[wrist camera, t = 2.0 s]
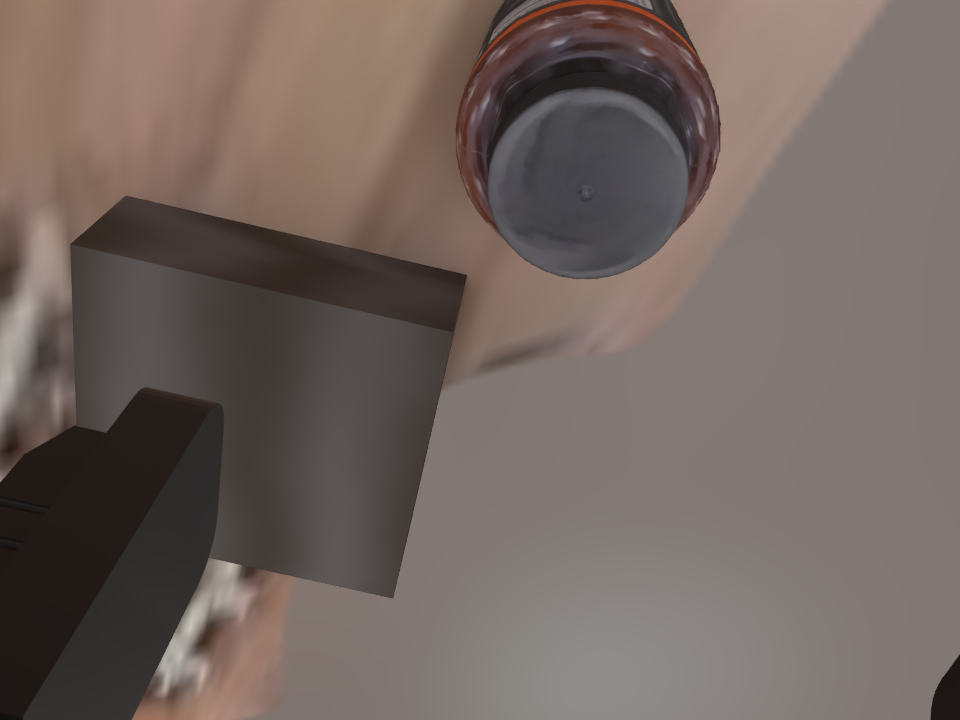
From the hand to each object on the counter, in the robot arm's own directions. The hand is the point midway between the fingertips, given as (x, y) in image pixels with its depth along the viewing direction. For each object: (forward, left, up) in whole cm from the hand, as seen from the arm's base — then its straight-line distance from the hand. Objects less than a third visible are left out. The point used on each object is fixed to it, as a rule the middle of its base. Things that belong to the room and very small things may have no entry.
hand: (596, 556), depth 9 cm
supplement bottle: (0, 0, -22) cm, 22 cm away
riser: (-8, -14, -21) cm, 27 cm away
